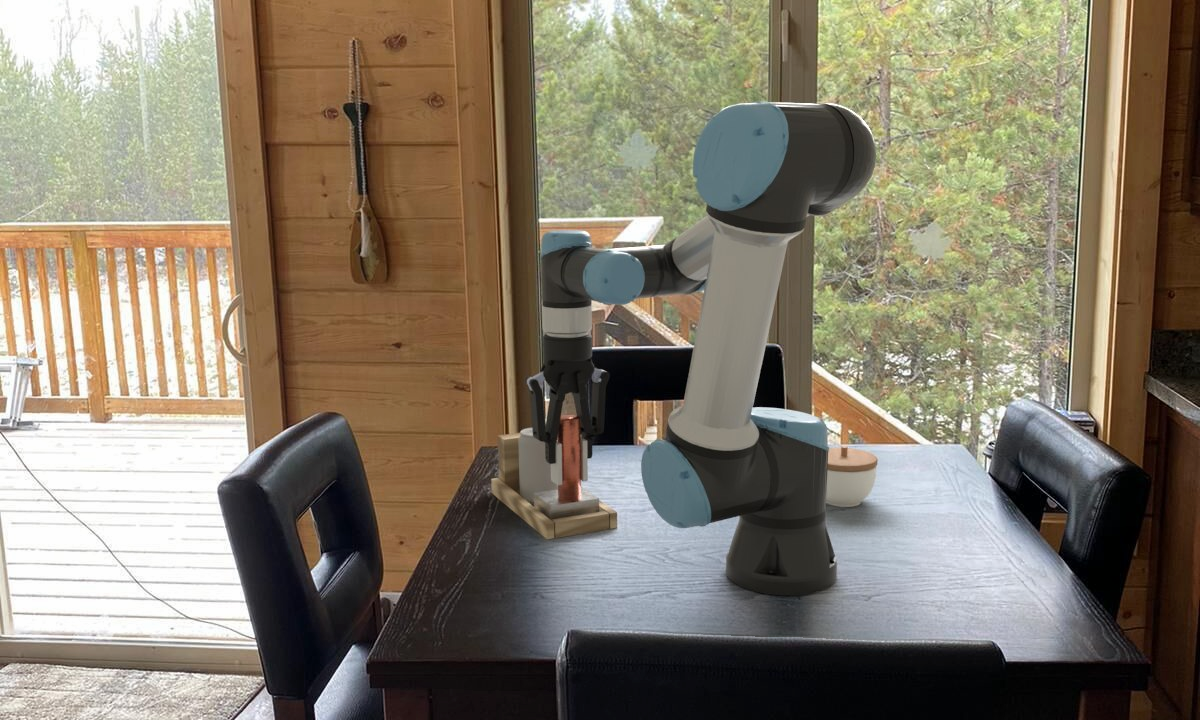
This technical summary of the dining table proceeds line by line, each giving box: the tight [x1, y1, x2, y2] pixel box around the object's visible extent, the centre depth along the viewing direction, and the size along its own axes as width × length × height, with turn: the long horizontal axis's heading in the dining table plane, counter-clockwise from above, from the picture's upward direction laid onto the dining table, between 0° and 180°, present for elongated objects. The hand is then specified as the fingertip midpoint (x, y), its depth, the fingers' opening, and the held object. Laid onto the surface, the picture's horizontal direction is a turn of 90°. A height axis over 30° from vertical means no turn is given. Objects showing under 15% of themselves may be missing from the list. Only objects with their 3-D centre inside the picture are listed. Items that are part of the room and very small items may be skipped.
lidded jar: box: [826, 445, 879, 508], centre depth 184 cm, size 11×11×9 cm
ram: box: [533, 414, 600, 521], centre depth 175 cm, size 7×8×17 cm
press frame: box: [490, 432, 618, 540], centre depth 181 cm, size 25×12×10 cm, turn 25°
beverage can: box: [518, 427, 558, 505], centre depth 186 cm, size 6×6×12 cm
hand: (569, 480), depth 174 cm, fingers closed on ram, 4 cm apart
